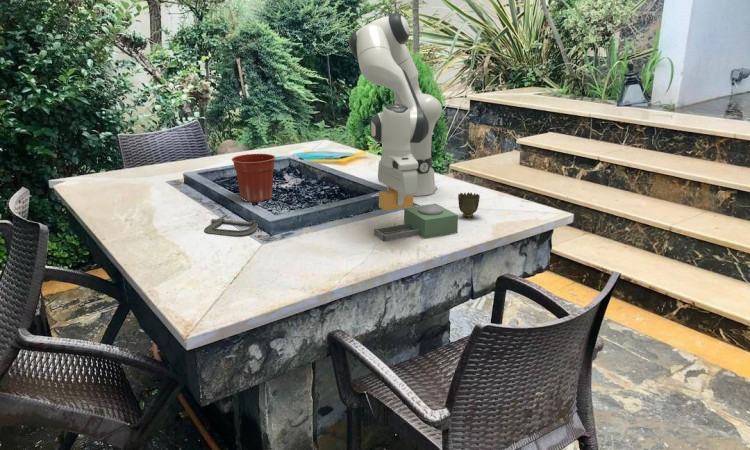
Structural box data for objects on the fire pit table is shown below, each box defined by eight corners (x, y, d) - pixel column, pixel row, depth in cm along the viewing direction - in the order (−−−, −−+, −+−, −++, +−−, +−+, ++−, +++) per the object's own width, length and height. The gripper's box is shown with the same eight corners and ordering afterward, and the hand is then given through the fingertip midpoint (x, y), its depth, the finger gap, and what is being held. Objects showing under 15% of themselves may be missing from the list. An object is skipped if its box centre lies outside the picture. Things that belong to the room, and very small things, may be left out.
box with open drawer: (369, 231, 187) (369, 210, 185) (435, 220, 197) (435, 200, 195) (388, 244, 175) (388, 222, 173) (457, 232, 185) (458, 211, 182)
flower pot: (262, 190, 236) (259, 151, 231) (286, 197, 225) (284, 157, 220) (227, 198, 225) (223, 158, 220) (250, 206, 214) (247, 164, 209)
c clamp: (191, 233, 189) (190, 225, 188) (224, 217, 204) (223, 210, 203) (243, 240, 181) (242, 232, 180) (273, 224, 196) (272, 216, 195)
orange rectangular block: (378, 207, 180) (378, 191, 179) (407, 203, 184) (407, 188, 183) (384, 210, 177) (384, 194, 175) (413, 206, 181) (413, 191, 179)
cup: (478, 221, 196) (479, 198, 193) (456, 219, 197) (457, 197, 194) (479, 214, 203) (480, 192, 200) (457, 213, 204) (458, 191, 201)
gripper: (372, 153, 183) (373, 195, 188) (402, 166, 166) (401, 212, 170) (390, 151, 186) (390, 192, 190) (421, 164, 168) (420, 209, 173)
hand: (396, 202), depth 180 cm, fingers closed on orange rectangular block, 4 cm apart
